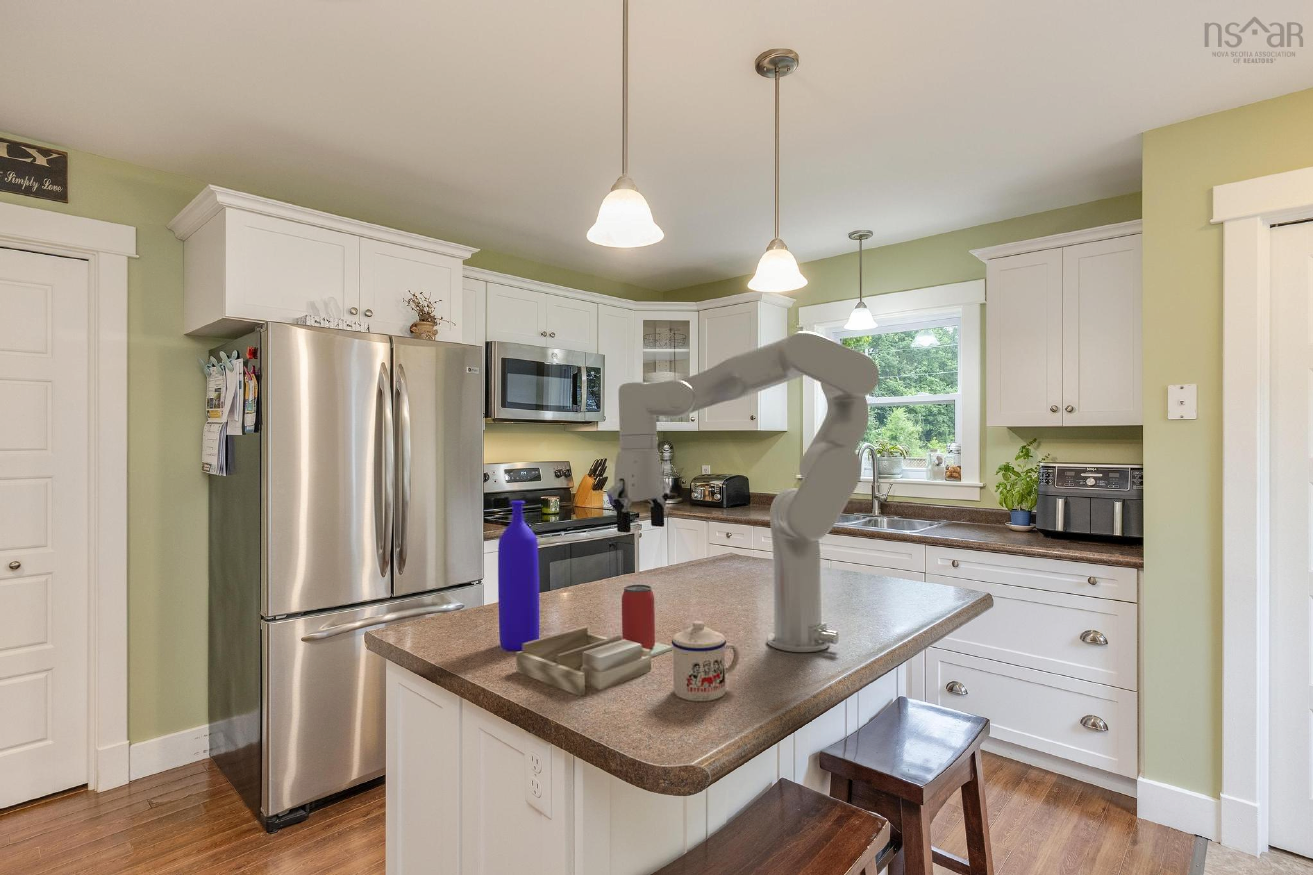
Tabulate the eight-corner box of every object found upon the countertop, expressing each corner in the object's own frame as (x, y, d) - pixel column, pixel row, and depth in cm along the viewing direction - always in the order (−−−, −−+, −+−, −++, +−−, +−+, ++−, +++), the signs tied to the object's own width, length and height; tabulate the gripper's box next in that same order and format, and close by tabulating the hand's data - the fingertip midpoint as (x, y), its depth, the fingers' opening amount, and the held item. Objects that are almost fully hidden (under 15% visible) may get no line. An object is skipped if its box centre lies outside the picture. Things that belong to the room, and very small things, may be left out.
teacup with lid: (686, 706, 105) (685, 632, 105) (664, 687, 113) (662, 618, 113) (752, 694, 109) (751, 623, 109) (726, 676, 118) (725, 610, 118)
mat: (672, 649, 133) (672, 646, 133) (637, 662, 126) (637, 659, 126) (637, 640, 140) (637, 637, 140) (602, 651, 133) (602, 648, 133)
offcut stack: (649, 672, 121) (649, 642, 121) (599, 691, 112) (599, 658, 112) (630, 666, 124) (630, 637, 124) (580, 684, 116) (580, 652, 116)
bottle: (547, 642, 140) (545, 499, 140) (524, 654, 132) (521, 503, 132) (515, 638, 143) (513, 498, 143) (490, 649, 135) (488, 502, 136)
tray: (651, 668, 122) (650, 641, 122) (580, 695, 110) (579, 665, 110) (586, 649, 134) (586, 624, 134) (516, 671, 122) (516, 644, 122)
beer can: (651, 653, 129) (650, 591, 129) (618, 651, 130) (617, 590, 131) (658, 643, 136) (656, 584, 136) (626, 641, 137) (625, 583, 137)
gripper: (654, 443, 142) (656, 523, 142) (594, 445, 130) (596, 533, 130) (680, 442, 137) (683, 525, 137) (620, 444, 125) (623, 536, 125)
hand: (641, 529), depth 133 cm, fingers open, 9 cm apart
